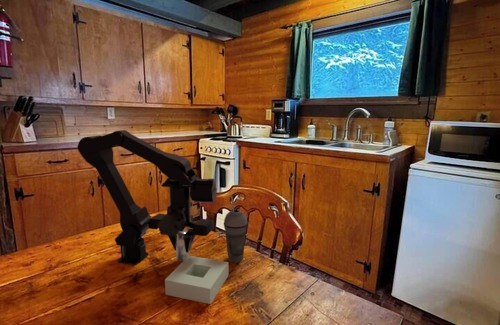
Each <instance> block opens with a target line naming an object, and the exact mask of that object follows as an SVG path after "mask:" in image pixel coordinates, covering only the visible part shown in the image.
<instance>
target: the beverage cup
mask: <svg viewBox="0 0 500 325" xmlns="http://www.w3.org/2000/svg"><path fill="white" fill-rule="evenodd" d="M230 201H231V208H232V210H229V211H228V212H227V213H226V214H225V217H224V220H223V227H224V232H225V241H226V249H227V252H226V253H227V258H228V261H229V262H231V263H240V262H242V261H244V260H243V259H244V254H245V244H246V243H245V242H246V234H247V233H246V231H247V229H248V228H247V227H248V224H249V222H248V219H247V216H246V214H245V212H243V211H241V210H239V209H235V206H234V197H233V195H230Z"/></svg>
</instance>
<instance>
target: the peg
mask: <svg viewBox="0 0 500 325" xmlns="http://www.w3.org/2000/svg"><path fill="white" fill-rule="evenodd" d="M187 231H188V230H186V229H184V230H183V231H178V232H177V234H176V235H175V238H176V251H175V258H176V260H177V261H184V260H185V259H186V258H187V257H188V256H189V252H188V253H187V252H186V237H185V236H184V234H185V233H186V232H187Z"/></svg>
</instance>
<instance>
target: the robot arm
mask: <svg viewBox="0 0 500 325" xmlns="http://www.w3.org/2000/svg"><path fill="white" fill-rule="evenodd" d="M118 146H119V147H120V148H123V149H125V150H127V151H128V152H130V153H132V154H134V155H135V156H138V157H139V158H141V159H143V160H145V161H147V162H149V163H151V164H153V165H154V166H156V167H157V169H158V170H159V171H160V172H161V173H162V174H163V175H164V176H166V180H165V181H164V182H163V183H162V184H161V187H162V188H168V190H169V191H168V192H169V205H168V206H167V209H166V213H157V214H156V215H154V216H152V215H150V214H149V212H148V211H149V210H148V208H147V207H146V206H143V207H140V206H139V205H138V204H136V202H135V200H134V198H133V197H132V195H131V192H130V190H129V189H128V187H127V185H126V183H125V181H124V180H123V178H122V175H121V173H120V171H119V170H118V168H117V166H116V164H115V162H114V149H113V148H116V147H118ZM77 151H78V153H79V154H80V156H81V157H82V158H83V160H84V161H85V162H86V163H88V164H89V165H90V166H91V167H93V168H95V169H96V172H97V173H98V175H99V177H100V179H101V181H102V183H103V184H104V186H105V188H106V189H107V192H108V194H109V195H110V197H111V200H112V201H113V203H114V205H115V206H116V208H117V210H118V213H119V225H120V228H121V232H120V233H119V234H118V235H117V236H116V237H115V238H114V242H115V244H116V245H117V246H118V247H119V246H120V248H119V249H120V258H118V259H117V262H118V263H122V264H126V265H127V264H128V265H133V266H136V265H138V264H139V263H140V262H141V261H142V260H144V259H145V258H146V257H148V256H149V252H147V247H146V243H145V238H144V237H143V236H145V235H146V234H147V231H149V229H152V230H158V231H159V234H160V235H161V236H167V237H168V239H169V241H170V243H171V245H172V247H173V249H174V251H175V252H176V238H175V235H176V234H177V232H178V231H183V230H185V229H187V230H186V231H187V232H186V233H185V234H184V236H185V237H186V252H187V253H188V254H189V252H190V250H191V248H192V245H193V242H194V239H195V238H196V236H197V237H198V236H200V237H206V236H208V235H209V234H210V233H211V232H212V231H213V230H214V229H215V227H214V226H215V225H214V221H213V220H212V219H208V218H207V219H206V218H200V219H198V220H197V221H192V220H193V219H194V217H193V216H194V215H193V214H191V212H192V211H191V207H192V206H193V202H194V203H207V204H208V203H209V204H214V203H215V202H216V200H217V187H216V183H215V178H199V175H198V174H197V172H196V171H195V170H194V168H192V164H191V161H190V160H189V159H188V158H187V157H184V156H182V155H178V154H175V153H170V152H166V151H164V150H162V149H160V148H158V147H156V146H154V145H152V144H150V143H148V142H147V141H145V140H143V139H141V138H139V137H137V136H135V134H134V135H133V134H132V133H130V132H129V131H128V130H126V129H123V130H114V131H113V132H111V133H108V134H103V135H100V134H99V135H93V136H92V135H91V136H85V137H82V138H81V139H79V141H78V145H77Z"/></svg>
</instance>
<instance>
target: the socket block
mask: <svg viewBox="0 0 500 325" xmlns="http://www.w3.org/2000/svg"><path fill="white" fill-rule="evenodd" d="M228 277H229V262H228V261H223V260H217V259H211V258H205V257H204V258H203V257H198V256H194V255H188V257H187V258H186V259H185V260H182V262H181V263H179V265H178V266H177V267H176V268H175V269H174V270H172V272H171V273H170V274H169V275H168V276H167V277H166V278H165V279H164V288H165V290H164V291H165V295H166V296H170V297H174V298H175V297H176V298H179V299H180V298H181V299H184V300H188V301H193V302H199V303H203V304H209V305H211V304H212V303H213V301H214V299H215V298H216V296H217V295H218V293H219V291H220V290H221V288H223V287H222V286H223V285H224V284H225V282H226V280H227V278H228Z"/></svg>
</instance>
